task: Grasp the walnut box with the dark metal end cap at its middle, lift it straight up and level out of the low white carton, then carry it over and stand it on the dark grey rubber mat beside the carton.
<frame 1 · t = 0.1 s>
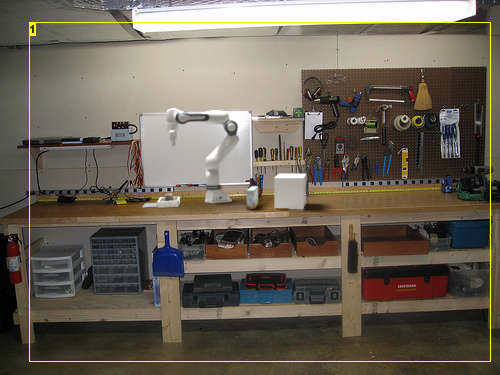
hand: (173, 145, 305), 48 cm above the workbench, fingers open, 8 cm apart
snack box: (252, 207, 289), on the workbench
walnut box: (169, 199, 303), in the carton
cube: (290, 207, 287), on the workbench
rubber mat: (150, 205, 303), on the workbench
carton: (169, 205, 304), on the workbench
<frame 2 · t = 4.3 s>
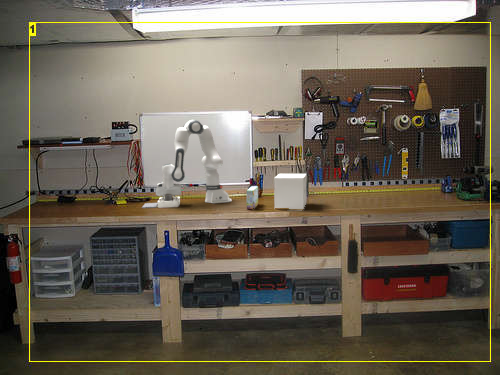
hand: (169, 200, 304), 4 cm above the workbench, fingers closed on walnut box, 5 cm apart
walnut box: (169, 199, 303), in the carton, touching gripper
everything else where it was.
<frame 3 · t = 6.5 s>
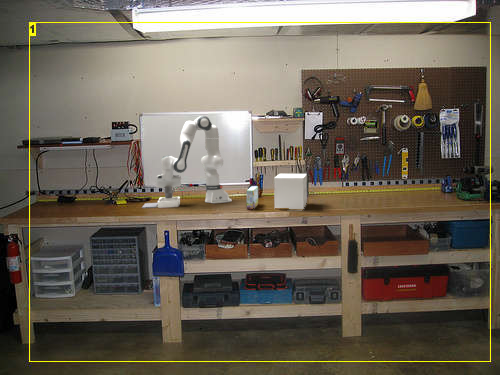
hand: (169, 192, 303), 10 cm above the workbench, fingers closed on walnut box, 5 cm apart
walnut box: (168, 191, 302), point 11 cm above the workbench, touching gripper
everything else where it was.
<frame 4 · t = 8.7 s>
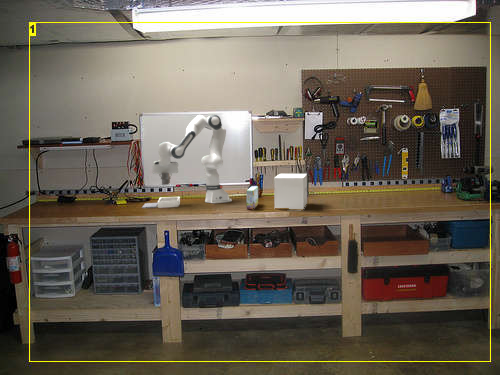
hand: (165, 179, 301), 21 cm above the workbench, fingers closed on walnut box, 5 cm apart
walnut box: (165, 178, 300), point 22 cm above the workbench, touching gripper
everything else where it was.
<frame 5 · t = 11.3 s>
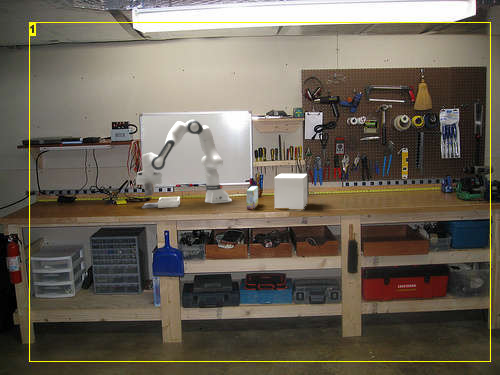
hand: (149, 189, 300), 13 cm above the workbench, fingers closed on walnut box, 5 cm apart
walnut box: (149, 188, 300), point 14 cm above the workbench, touching gripper
everything else where it was.
when the fingers open (6 cm above the workbench, at t = 13.5 s): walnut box drops 1 cm, resting on rubber mat.
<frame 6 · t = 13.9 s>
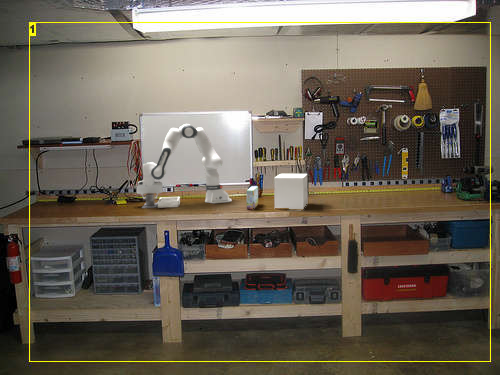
hand: (150, 198, 302), 6 cm above the workbench, fingers open, 8 cm apart
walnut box: (150, 199, 302), on the rubber mat, point 5 cm above the workbench
everything else where it was.
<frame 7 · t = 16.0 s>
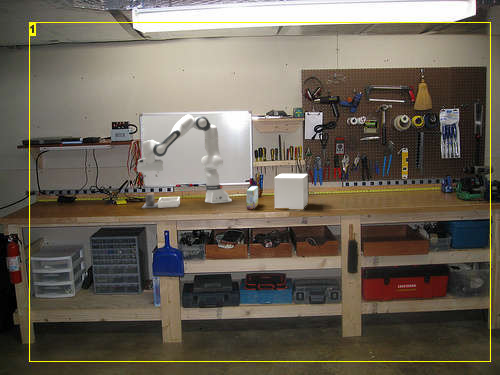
hand: (150, 177, 301), 23 cm above the workbench, fingers open, 8 cm apart
nothing on the workbench moved.
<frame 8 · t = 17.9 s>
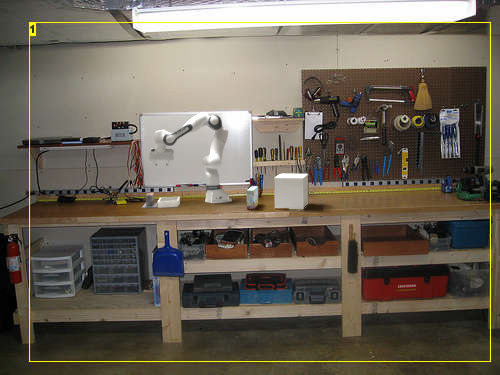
hand: (161, 165, 312), 31 cm above the workbench, fingers open, 8 cm apart
nothing on the workbench moved.
at the end: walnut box inside the target area (0.1 cm from its centre), point 5.3 cm above the workbench; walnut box tilted 0°; the gripper is holding nothing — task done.
